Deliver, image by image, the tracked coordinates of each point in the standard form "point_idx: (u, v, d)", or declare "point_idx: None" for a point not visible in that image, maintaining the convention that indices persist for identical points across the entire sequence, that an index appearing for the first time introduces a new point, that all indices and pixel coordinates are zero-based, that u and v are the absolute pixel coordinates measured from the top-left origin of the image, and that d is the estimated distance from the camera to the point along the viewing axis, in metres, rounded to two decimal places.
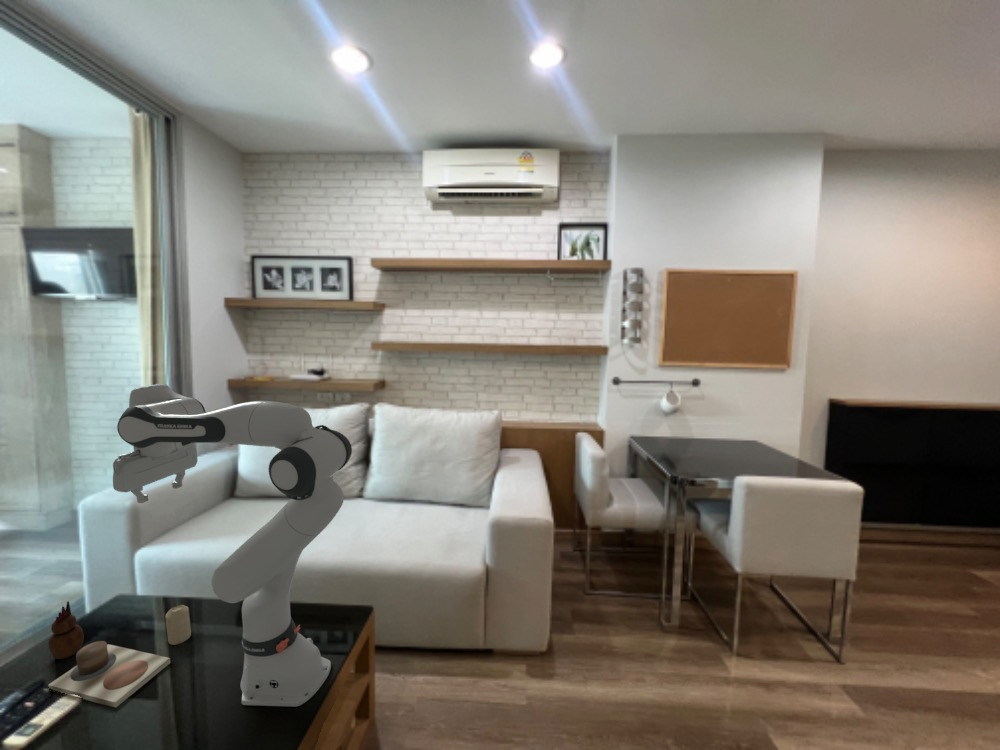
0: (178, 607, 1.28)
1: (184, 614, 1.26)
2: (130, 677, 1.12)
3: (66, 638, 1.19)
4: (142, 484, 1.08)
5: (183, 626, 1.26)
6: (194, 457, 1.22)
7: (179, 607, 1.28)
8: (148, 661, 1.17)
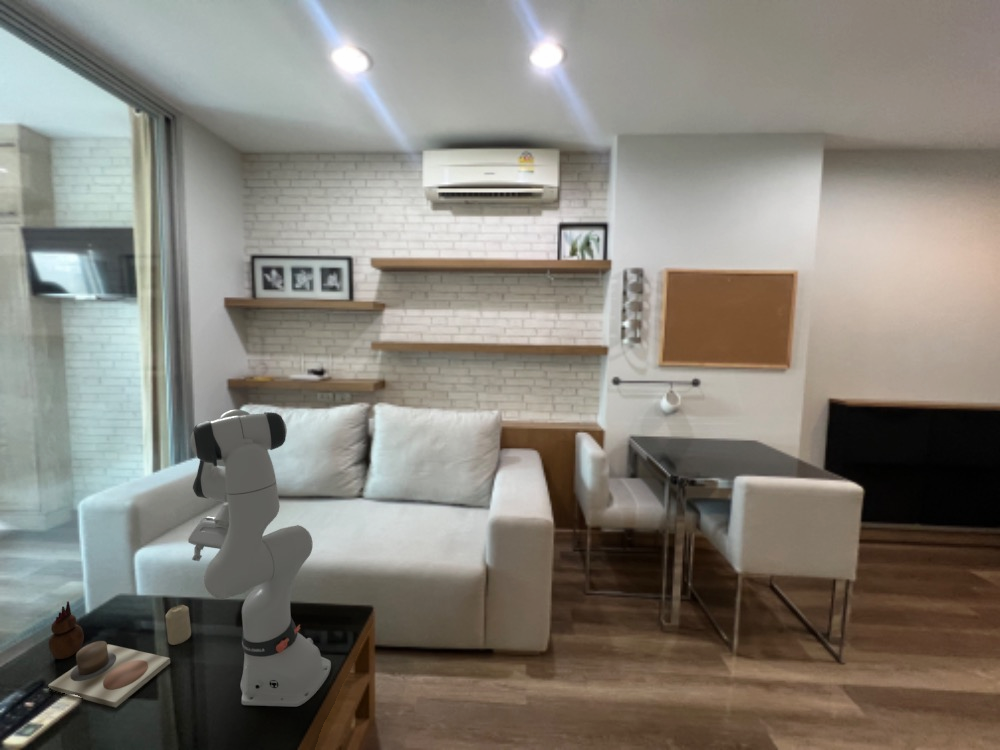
0: (178, 607, 1.28)
1: (184, 614, 1.26)
2: (130, 677, 1.12)
3: (66, 638, 1.19)
4: (198, 541, 1.40)
5: (183, 626, 1.26)
6: None
7: (179, 607, 1.28)
8: (148, 661, 1.17)
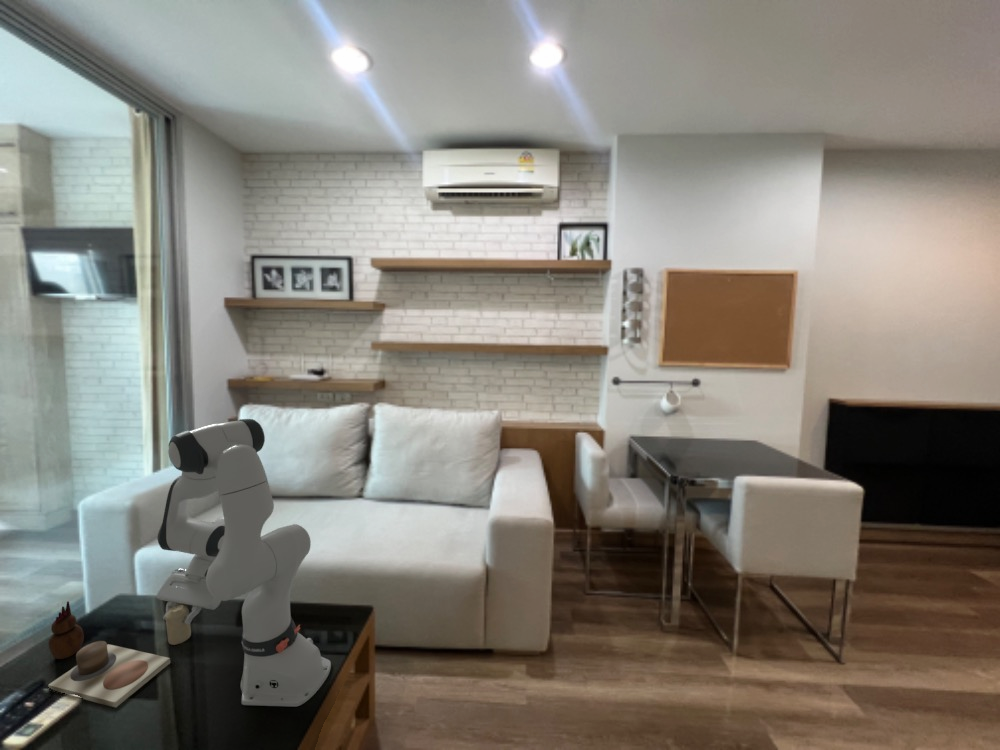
0: (178, 607, 1.28)
1: (184, 614, 1.26)
2: (130, 677, 1.12)
3: (66, 638, 1.19)
4: (166, 597, 1.29)
5: (183, 626, 1.26)
6: (210, 596, 1.27)
7: (179, 607, 1.28)
8: (148, 661, 1.17)
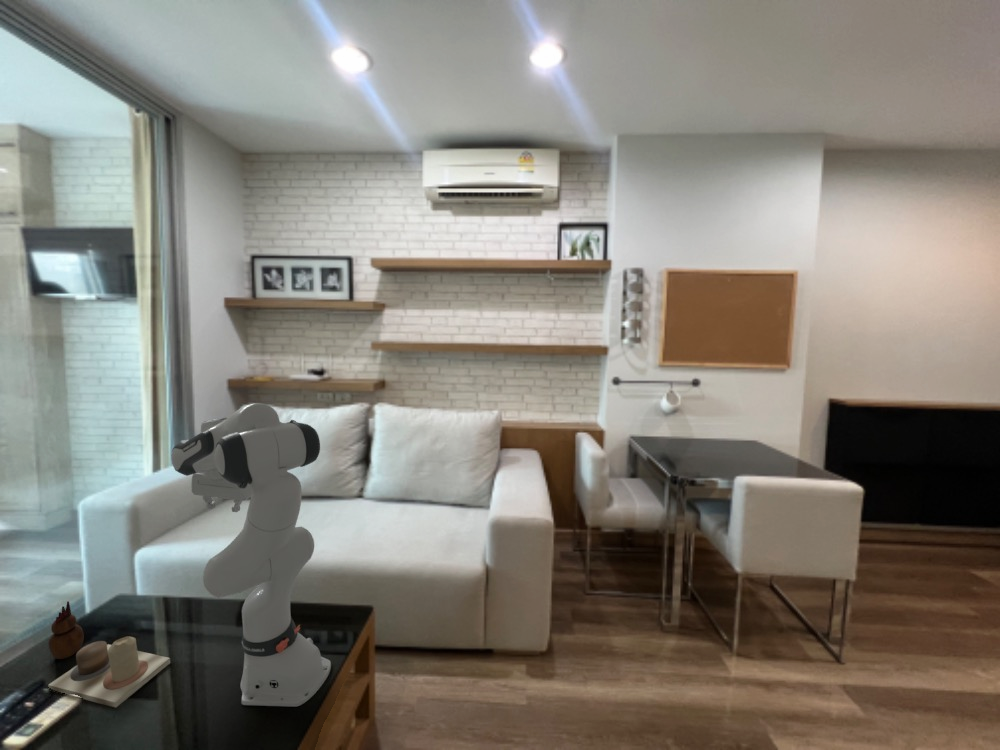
0: (124, 639, 1.13)
1: (130, 647, 1.11)
2: None
3: (66, 638, 1.19)
4: (202, 494, 1.35)
5: (128, 662, 1.11)
6: (240, 492, 1.32)
7: (125, 639, 1.13)
8: (148, 661, 1.17)
